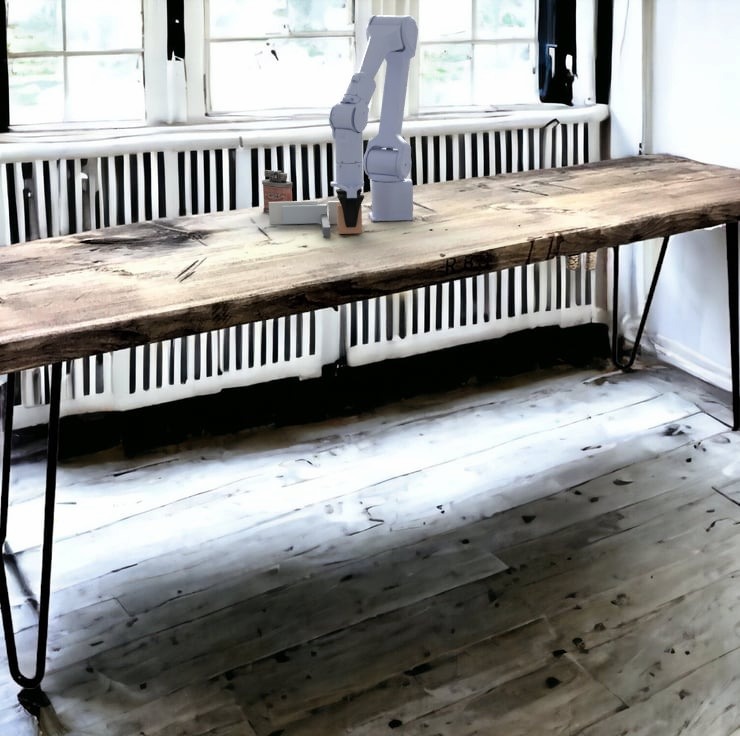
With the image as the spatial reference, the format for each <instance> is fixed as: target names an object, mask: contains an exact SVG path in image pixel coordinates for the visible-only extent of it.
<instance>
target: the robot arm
mask: <svg viewBox="0 0 740 736" xmlns="http://www.w3.org/2000/svg"><path fill="white" fill-rule="evenodd" d="M365 29H366V30H365V32H366V33H365V35H366V40H367V45H366V48H365V51H364V54H363V57H362V60H361V63H360V66H359V70H358V72H353V74H351V76H350V78H349V80H348V82H347V85H346V88H345V89H344V92H343V95H341V98H340V102H337V103H336V104H335V105H333V106H332V107H331V110H330V111H329V112H330V113H329V117H328V123H329V125H330V128H331V130H332V134H331V135H332V138H333V140H334V142H335V143H334V150H335V181H330V186H331V187H336V188H337V189H335V193H336V195H337V196H336V197H337V199H338V201H340V203H341V206H342V209H343V214H344V220H345V225H346V227H347V228H348V227H356V225H357V220H358V213H359V209H360V206H361V205H362V203H363V201H364V200H365V196H364V194H362V192H363V187H364V186H365V181H364V172H365V174H366V175H367V176H368V180H371V211H368V215H369V217H370V220H371V222H390V221H391V222H394V221H395V222H396V221H397V222H398V221H413V220H414V203H413V202H414V192H413V191H414V188H413V180H412V179H411V178H407V177H408V176H409V174H410V173H411V170H412V157H411V156H412V155H411V154H412V147H411V145H410V143H408V142H407V140H406V139H404V137H403V136H402V131H403V130H402V129H403V121H404V115H405V105H406V97H407V90H408V89H407V87H408V82H409V81H408V80H409V74H410V73H409V71H410V65H411V59H412V58H414V57H416V50H417V43H418V37H419V29H418V26H417V22H416V20H415V18H414V17H413V16H412V15H409V14H407V15H378V14H373V15H371V16H370V17H369V19H368V22H367V25H366V28H365ZM384 60H385V61H386V66H385V76H384V82H383V83H384V84H383V92H382V93H383V94H382V101H381V109H380V116H379V117H380V118H379V126H378V133H377V134H376V135H375V136H373V137H372V138H370V140H368V141H367V145H366V151H365V153H364V155H363V132H364V131H365V129H366V128H367V126H368V121H369V112H370V108H369V105H370V103H371V99H372V98H373V95H374V93H375V91H376V88H377V83H376V81H375V78H376V75H377V73H378V72H379V70H380V69H381V66H382V65H383V62H384Z"/></svg>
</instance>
